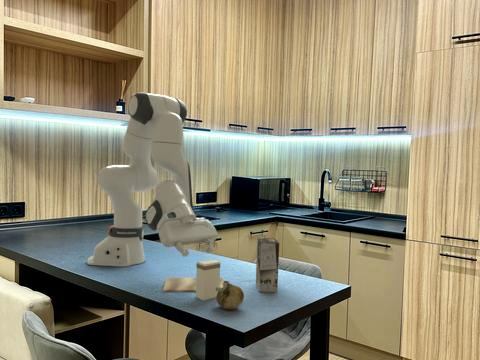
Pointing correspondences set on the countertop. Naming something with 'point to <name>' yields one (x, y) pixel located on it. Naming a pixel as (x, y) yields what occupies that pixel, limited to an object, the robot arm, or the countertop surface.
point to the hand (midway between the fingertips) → (198, 253)
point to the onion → (229, 296)
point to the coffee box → (267, 264)
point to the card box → (207, 279)
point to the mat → (182, 284)
